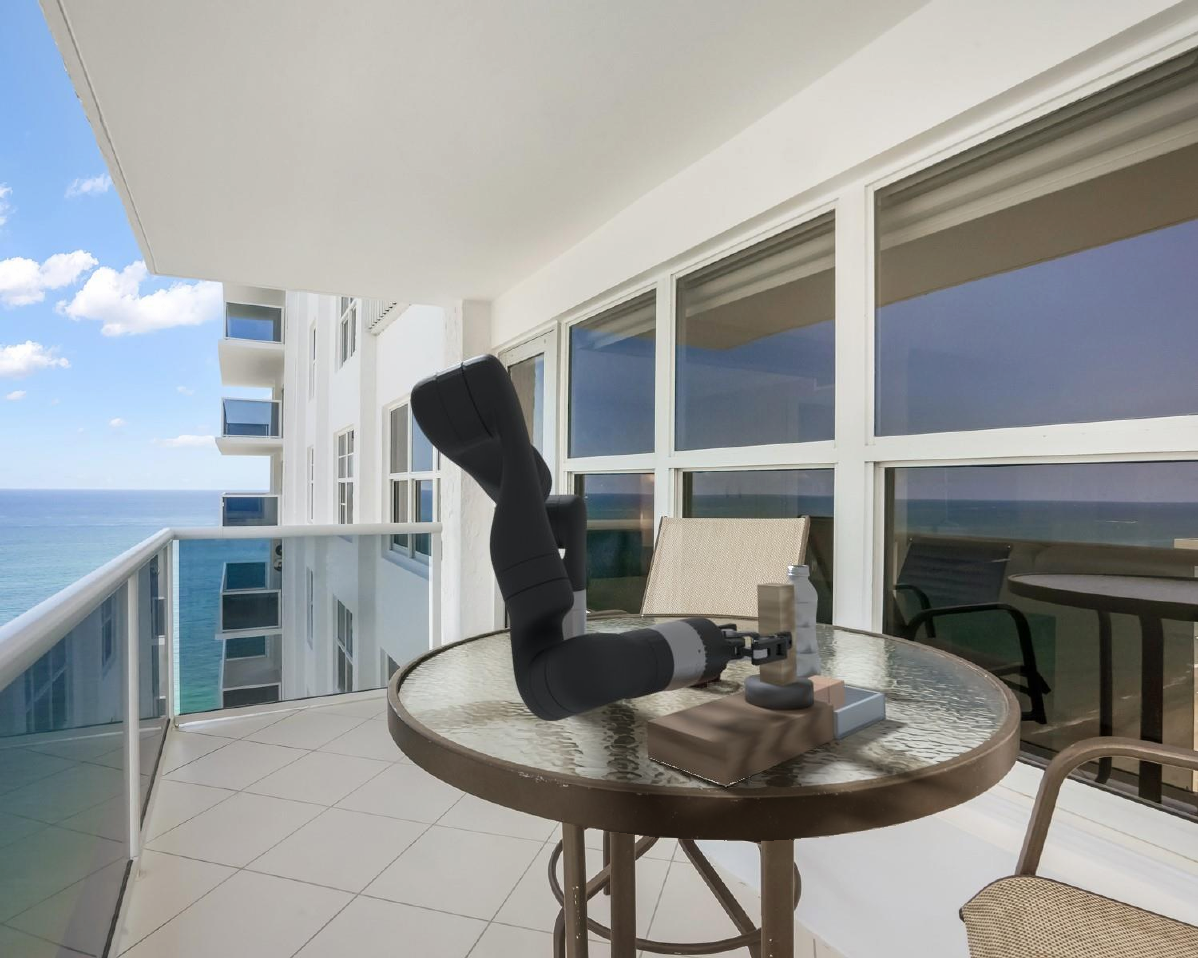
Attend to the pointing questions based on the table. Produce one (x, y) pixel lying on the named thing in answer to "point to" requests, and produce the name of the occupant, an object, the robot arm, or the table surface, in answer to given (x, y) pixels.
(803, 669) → the plastic bottle
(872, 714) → the tray
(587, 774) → the table surface
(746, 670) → the table surface
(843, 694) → the beige cube
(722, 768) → the wooden rectangular block
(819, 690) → the pinkish tan cube
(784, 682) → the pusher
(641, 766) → the table surface
